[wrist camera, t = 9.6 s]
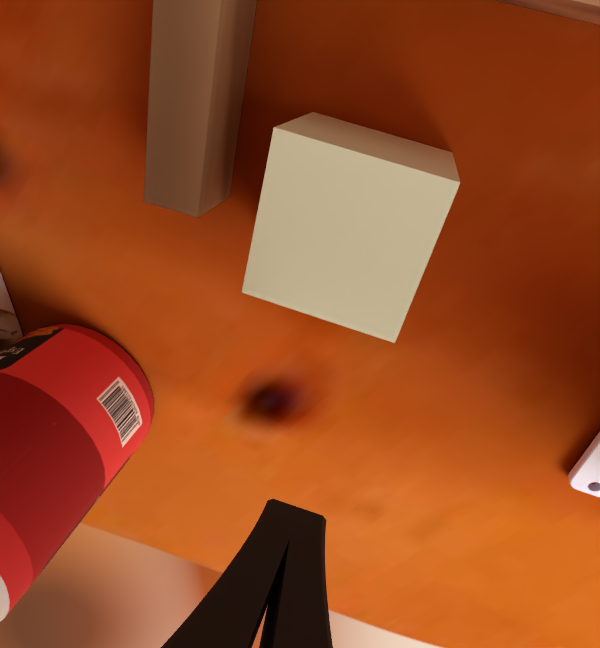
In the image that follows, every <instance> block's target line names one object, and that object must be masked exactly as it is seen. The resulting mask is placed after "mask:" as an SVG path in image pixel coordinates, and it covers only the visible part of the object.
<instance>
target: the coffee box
mask: <svg viewBox="0 0 600 648" xmlns="http://www.w3.org/2000/svg"><path fill="white" fill-rule="evenodd" d="M22 337H23V333H22V330H21V327H20V325H19V322H18V319H17V317H16V314H15V311H14V308H13V305H12V303H11V300H10V297H9V294H8V291H7V289H6V286H5V283H4V280H3V277H2V275H1V272H0V352H1V351H2V350H4V349H5V348H7V347H8V346H10V345H11V344H13V343H15V342H16V341H18V340H19V339H21V338H22Z"/></svg>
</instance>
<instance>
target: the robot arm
mask: <svg viewBox="0 0 600 648" xmlns="http://www.w3.org/2000/svg"><path fill="white" fill-rule="evenodd" d="M568 480H569V483H570V485H571V486H572V487H573V488H574V489H576V490H579V491H582V492H585V493H588V494H591V495H594V496H597V497H600V432H599V433H598V435H597V436H596V437H595V439H594V440H593V442H592V443H591V444H590V446H589V447H588V448H587V450H586V451H585V452H584V454H583V455H582V456H581V458H580V459H579V460H578V462H577V463H576V465H575V466H574V467H573V469H572V470H571V471H570V473H569V475H568ZM593 482H597V483H596V484H590V483H593ZM325 528H326V519H325V518H324V516H322V515H319V514H316V513H313V512H310V511H307V510H304V509H302V508H299V507H296V506H293V505H290V504H287V503H284V502H281V501H278V500H275V499H271V500H268V501H267V503H266V506H265V508H264V510H263V512H262V514H261V516H260V518H259V520H258V522H257V523H256V525H255V527H254V529H253V530H252V532H251V534H250V535H249V537H248V538H247V540H246V541H245V543H244V544H243V546H242V547H241V549H240V550H239V552H238V553H237V555H236V556H235V557H234V559H233V560H232V562H231V563H230V564H229V566H228V567H227V569H226V570H225V571H224V573H223V574H222V576H221V577H220V578H219V580H218V581H217V582H216V584H215V585H214V586H213V587H212V588H211V590H210V591H209V592H208V593H207V595H206V596H205V597H204V598H203V600H202V601H201V602H200V603H199V605H198V606H197V607H196V608H195V609H194V611H193V612H192V613H191V614H190V616H189V617H188V618H187V619H186V620H185V621H184V623H183V624H182V625H181V626H180V627H179V628H178V629H177V631H176V632H175V633H174V634H173V635H172V636H171V637H170V638H169V639H168V641H167V642H166V643H165V644H164V645H163V646H162V647H161V648H252V645H253V642H254V640H255V637H256V634H257V632H258V629H259V626H260V624H261V621H262V619H263V616H264V613H265V610H266V608H267V611H266V616H265V621H264V626H263V631H262V636H261V641H260V646H259V648H333V646H332V639H331V631H330V622H329V612H328V602H327V591H326V575H325ZM267 605H268V606H267Z"/></svg>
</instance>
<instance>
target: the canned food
mask: <svg viewBox="0 0 600 648" xmlns="http://www.w3.org/2000/svg"><path fill="white" fill-rule="evenodd" d="M153 414H154V399H153V395H152V390H151V388H150V386H149V383H148V381H147V379H146V377H145V375H144V374H143V372H142V370H141V369H140V367H139V366H138V365H137V364H136V362H135V361H134V360H133V359H132V358H131V356H130V355H129V354H128V353H127V352H125V351H124V350H123V349H122V348H121V347H120V346H119V345H117V344H116V343H115V342H113V341H112V340H110V339H109V338H107V337H106V336H104V335H102V334H100V333H98V332H96V331H94V330H92V329H88V328H85V327H82V326H79V325H71V324H59V325H53V326H48V327H44V328H41V329H38V330H35V331H32V332H30V333H29V334H27V335H25V336H24V337H22V338H21V339H19V340H18V341H16V342H15V343H13V344H11V345H10V346H8V347H7V348H5V349H4V350H2V351H1V352H0V621H1V620H3V619H4V618H5V617H6V616H7V614H8V613H9V612H10V611H11V609H12V608H13V607H14V605H15V604H16V603H17V602H18V600H19V599H20V598H21V597H22V595H23V594H24V593H25V592H26V591H27V590H28V589H29V587H30V586H31V585H32V583H33V582H34V581H35V580H36V578H37V577H38V576H39V574H40V573H41V572H42V571H43V569H44V568H45V567H46V565H47V564H48V563H49V562H50V560H51V559H52V558H53V556H54V555H55V554H56V552H57V551H58V550H59V549H60V547H61V546H62V545H63V544H64V542H65V541H66V540H67V538H68V537H69V536H70V535H71V533H72V532H73V531H74V529H75V528H76V527H77V526H78V524H79V523H80V522H81V520H82V519H83V518H84V517H85V515H86V514H87V513H88V511H89V510H90V509H91V507H92V506H93V505H94V504H95V502H96V501H97V500H98V498H99V497H100V496H101V495H102V493H103V492H104V491H105V489H106V488H107V487H108V486H109V484H110V483H111V482H112V480H113V479H114V478H115V477H116V475H117V474H118V473H119V471H120V470H121V469H122V468H123V466H124V465H125V464H126V462H127V461H128V460H129V459H130V457H131V456H132V455H133V453H134V452H135V451H136V450H137V448H138V447H139V446H140V444H141V443H142V442H143V440H144V439H145V437H146V435H147V434H148V431H149V428H150V425H151V422H152V418H153Z"/></svg>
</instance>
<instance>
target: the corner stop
mask: <svg viewBox="0 0 600 648" xmlns="http://www.w3.org/2000/svg"><path fill="white" fill-rule="evenodd" d="M496 1H500V2H504V3H508V4H513V5H517V6H521V7H525V8H529V9H534V10H538V11H542V12H546V13H550V14H555V15H559V16H563V17H567V18H571V19H576V20H580V21H584V22H588V23H592V24H597V25H600V0H496ZM256 6H257V0H153V18H152V39H151V60H150V80H149V101H148V122H147V143H146V164H145V185H144V202H147V203H150V204H153V205H157V206H160V207H163V208H167V209H170V210H173V211H177V212H180V213H183V214H187V215H190V216H193V217H197V218H198V217H200V216H201V215H203V214H204V213H206V212H207V211H209V210H210V209H212V208H213V207H215V206H217V205H218V204H220V203H221V202H223V201H224V200H226V199H227V198H229V196H230V189H231V182H232V175H233V168H234V161H235V154H236V147H237V140H238V133H239V126H240V119H241V112H242V105H243V98H244V91H245V83H246V76H247V69H248V62H249V55H250V48H251V41H252V34H253V27H254V20H255V13H256Z"/></svg>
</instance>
